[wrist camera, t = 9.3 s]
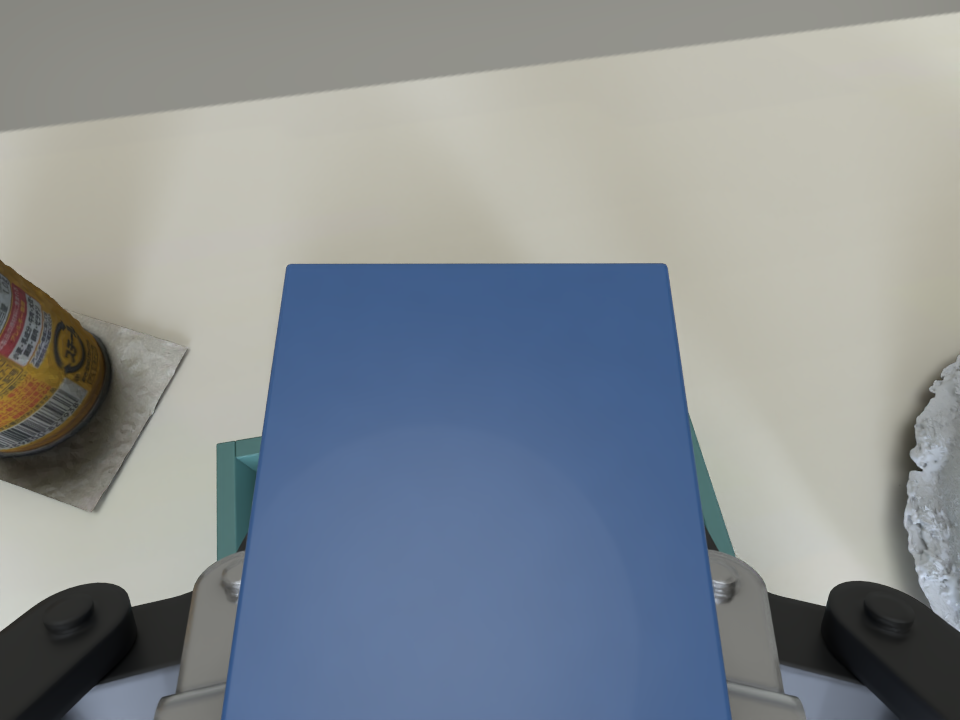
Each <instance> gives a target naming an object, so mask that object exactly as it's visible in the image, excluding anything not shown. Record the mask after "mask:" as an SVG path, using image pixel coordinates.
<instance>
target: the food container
mask: <svg viewBox="0 0 960 720" xmlns="http://www.w3.org/2000/svg"><path fill="white" fill-rule="evenodd" d="M941 378H942V379H943V380H941V381H939V380H935V381H934V383H933V386H930V388H929V391H930V392H932V393H935V394H936V395H935V398H932V399H930V402H929V404H928V405H927V407H925V409H924V411H923V412H922V413H921V414H920V416H918V417H917V418H916V424H915V426H914V428H915V434H916V436H915V438H916V442H917V445H916V446H915V448H913V449H911V451H910V452H911V453H910V457H911V458H912V460H913V461H914V462H915V463H916V465H917V466H919V468H921V469H922V470H923V471H921V472H918V471H916V470H914V471H910V473H909V480H908V483H907V494H908V496H909V498H908V499H907V505H906V508H905V513H904V516H905V517H904V527H905V529H906V530H907V531H908V534H909V537H908V542H909V546H908V550H909V552H911V554H912V555H913V557H914V558H915V565H916V567H915V570H916V572H917V574H918V575H919V583H920V587H921V588H922V590H923V592H924V594H925V596H926V598H927V599H928V601H929V602H930V607H931V608H932V610H933V611H934V613H936V614H937V615H938V616H940V617H941V618H942V619H944V620H945V621H946V622H947V623H949V624H950V625H951V626H953V627H954V628H955V629H957V630H958V631H959V632H960V355H958V356H957V361H956V362H955V363H953V364H950V365H949V366H947V367H946V368H945V369H943V372H942V373H941ZM917 468H918V467H917Z"/></svg>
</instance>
